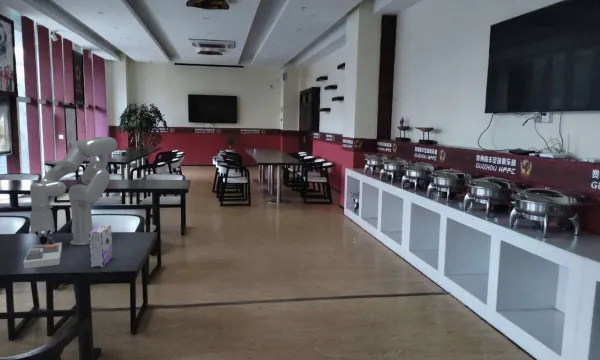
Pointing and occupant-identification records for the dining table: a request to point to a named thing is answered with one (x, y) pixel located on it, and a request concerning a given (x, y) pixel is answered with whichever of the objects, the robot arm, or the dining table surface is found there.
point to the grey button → (34, 251)
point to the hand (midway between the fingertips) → (43, 244)
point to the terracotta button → (51, 246)
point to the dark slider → (50, 241)
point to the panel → (43, 256)
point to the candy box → (100, 245)
